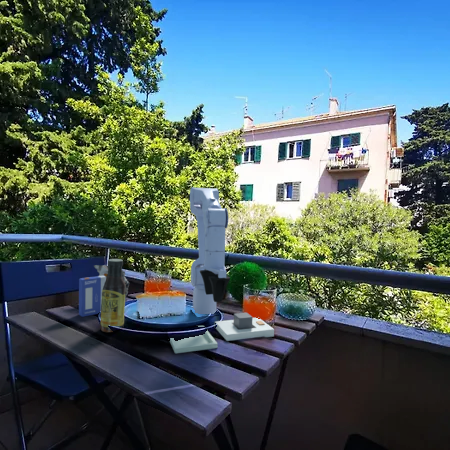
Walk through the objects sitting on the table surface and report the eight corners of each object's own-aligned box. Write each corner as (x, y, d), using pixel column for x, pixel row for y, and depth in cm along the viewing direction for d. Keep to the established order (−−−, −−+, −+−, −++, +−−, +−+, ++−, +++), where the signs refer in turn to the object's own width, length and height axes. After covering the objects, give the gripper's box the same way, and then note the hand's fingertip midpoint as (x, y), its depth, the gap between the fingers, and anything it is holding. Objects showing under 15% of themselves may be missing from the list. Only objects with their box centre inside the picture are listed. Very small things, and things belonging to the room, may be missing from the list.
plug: (233, 330, 91) (233, 313, 90) (246, 329, 92) (246, 312, 92) (238, 336, 87) (239, 318, 87) (251, 334, 88) (252, 317, 88)
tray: (166, 334, 86) (166, 329, 86) (203, 330, 90) (203, 325, 90) (175, 354, 74) (175, 348, 74) (217, 349, 78) (217, 343, 78)
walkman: (82, 317, 98) (82, 278, 97) (78, 314, 100) (79, 277, 99) (106, 311, 103) (107, 275, 103) (103, 309, 105) (103, 274, 105)
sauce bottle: (95, 332, 86) (96, 260, 85) (109, 324, 92) (109, 257, 91) (116, 335, 85) (117, 262, 84) (129, 327, 91) (130, 258, 90)
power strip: (214, 328, 92) (214, 320, 92) (257, 323, 97) (258, 316, 96) (226, 342, 82) (227, 333, 82) (273, 336, 87) (274, 328, 87)
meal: (89, 301, 114) (89, 265, 113) (98, 298, 118) (99, 264, 117) (120, 308, 107) (121, 270, 107) (129, 305, 111) (129, 268, 111)
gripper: (194, 247, 95) (193, 292, 95) (209, 254, 81) (207, 306, 82) (216, 247, 97) (215, 290, 98) (234, 253, 84) (232, 304, 84)
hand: (213, 297), depth 90 cm, fingers open, 7 cm apart
